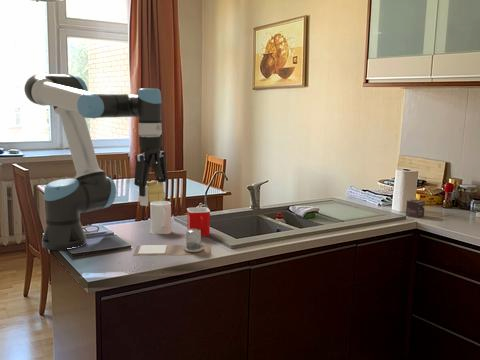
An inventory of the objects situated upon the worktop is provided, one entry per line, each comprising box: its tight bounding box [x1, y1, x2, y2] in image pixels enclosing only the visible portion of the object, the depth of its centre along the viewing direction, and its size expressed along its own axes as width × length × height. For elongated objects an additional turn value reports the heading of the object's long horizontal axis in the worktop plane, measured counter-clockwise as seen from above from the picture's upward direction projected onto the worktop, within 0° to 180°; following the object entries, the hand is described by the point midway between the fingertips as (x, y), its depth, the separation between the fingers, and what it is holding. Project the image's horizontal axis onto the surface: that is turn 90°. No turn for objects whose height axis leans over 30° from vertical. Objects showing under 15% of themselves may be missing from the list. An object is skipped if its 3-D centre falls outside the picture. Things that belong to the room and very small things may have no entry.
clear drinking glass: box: [183, 229, 204, 253], centre depth 164 cm, size 7×7×7 cm
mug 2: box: [186, 206, 211, 237], centre depth 182 cm, size 12×8×11 cm
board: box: [132, 244, 212, 257], centre depth 165 cm, size 26×11×1 cm, turn 95°
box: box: [405, 198, 426, 219], centre depth 221 cm, size 6×6×7 cm
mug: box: [149, 200, 173, 235], centre depth 188 cm, size 12×8×12 cm
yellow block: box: [138, 180, 165, 203], centre depth 160 cm, size 8×8×6 cm
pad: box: [138, 244, 168, 255], centre depth 164 cm, size 9×9×1 cm
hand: (152, 202), depth 161 cm, fingers closed on yellow block, 8 cm apart
